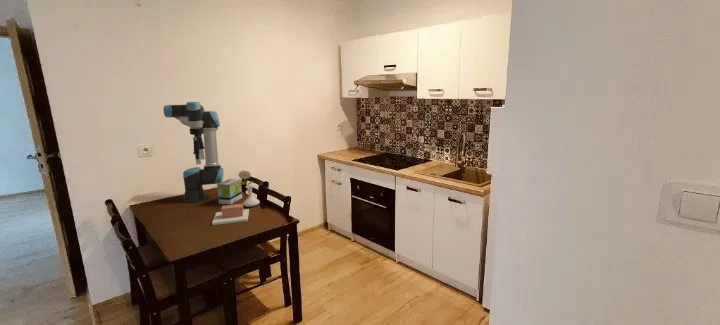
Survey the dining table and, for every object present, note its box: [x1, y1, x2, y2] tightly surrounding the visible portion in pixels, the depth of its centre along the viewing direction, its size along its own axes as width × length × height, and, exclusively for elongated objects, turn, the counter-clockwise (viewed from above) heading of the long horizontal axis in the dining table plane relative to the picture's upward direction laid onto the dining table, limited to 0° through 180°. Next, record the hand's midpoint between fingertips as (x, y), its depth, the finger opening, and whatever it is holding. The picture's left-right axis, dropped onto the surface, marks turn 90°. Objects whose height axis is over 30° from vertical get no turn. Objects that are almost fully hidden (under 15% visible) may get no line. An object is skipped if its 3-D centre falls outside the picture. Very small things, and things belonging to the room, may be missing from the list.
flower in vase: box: [238, 170, 260, 208], centre depth 228 cm, size 13×11×25 cm
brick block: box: [220, 203, 244, 218], centre depth 207 cm, size 6×6×12 cm
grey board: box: [211, 208, 250, 226], centre depth 208 cm, size 18×20×2 cm
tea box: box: [216, 178, 243, 205], centre depth 238 cm, size 15×10×15 cm, turn 168°
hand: (200, 161), depth 206 cm, fingers open, 13 cm apart
